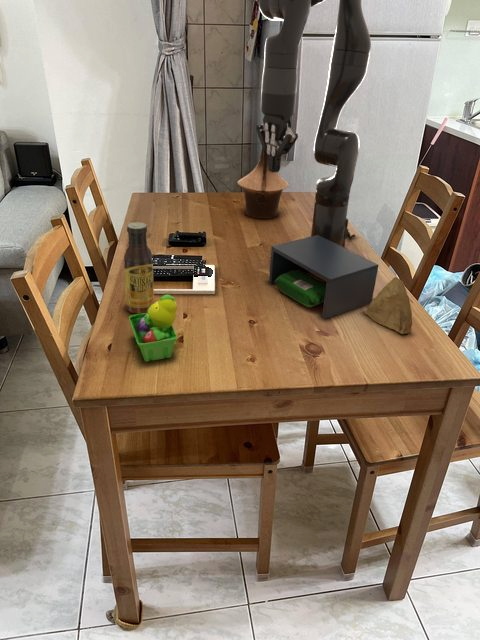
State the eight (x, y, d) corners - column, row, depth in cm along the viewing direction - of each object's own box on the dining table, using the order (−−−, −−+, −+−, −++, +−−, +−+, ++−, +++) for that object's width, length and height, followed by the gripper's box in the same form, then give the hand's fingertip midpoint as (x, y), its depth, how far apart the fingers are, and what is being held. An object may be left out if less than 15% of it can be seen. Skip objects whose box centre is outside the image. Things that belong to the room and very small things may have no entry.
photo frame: (214, 289, 122) (139, 289, 121) (214, 294, 123) (139, 293, 122) (214, 264, 135) (145, 263, 134) (214, 268, 135) (146, 267, 134)
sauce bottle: (131, 317, 112) (123, 232, 102) (123, 305, 117) (114, 222, 107) (159, 311, 115) (154, 228, 105) (150, 299, 120) (145, 218, 109)
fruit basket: (129, 336, 106) (125, 287, 100) (171, 329, 109) (169, 282, 103) (139, 367, 97) (135, 316, 91) (185, 359, 100) (183, 309, 94)
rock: (427, 327, 108) (414, 299, 116) (411, 301, 104) (398, 274, 111) (380, 349, 112) (370, 321, 120) (363, 325, 108) (354, 297, 115)
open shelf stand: (313, 269, 137) (317, 234, 131) (371, 302, 122) (378, 264, 117) (268, 282, 129) (271, 246, 124) (324, 319, 114) (330, 279, 109)
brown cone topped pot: (288, 223, 166) (295, 134, 152) (236, 221, 166) (238, 132, 152) (284, 206, 181) (291, 123, 167) (237, 204, 181) (239, 121, 167)
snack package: (313, 316, 115) (316, 296, 113) (271, 288, 126) (273, 269, 123) (336, 308, 119) (339, 288, 116) (293, 282, 130) (295, 263, 127)
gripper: (312, 93, 107) (304, 176, 116) (274, 86, 116) (269, 163, 125) (284, 95, 103) (278, 180, 112) (247, 87, 113) (244, 166, 121)
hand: (273, 171), depth 119 cm, fingers closed
